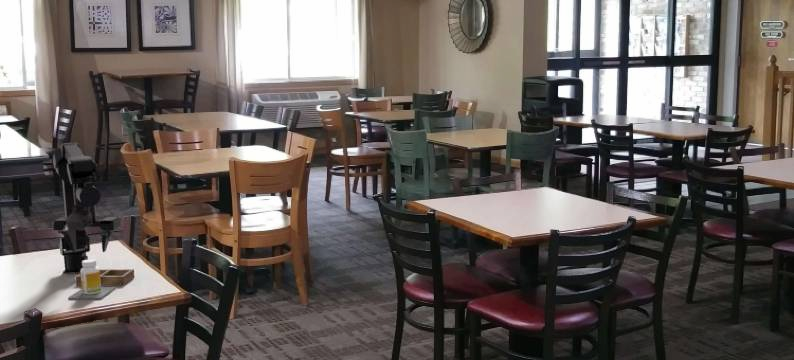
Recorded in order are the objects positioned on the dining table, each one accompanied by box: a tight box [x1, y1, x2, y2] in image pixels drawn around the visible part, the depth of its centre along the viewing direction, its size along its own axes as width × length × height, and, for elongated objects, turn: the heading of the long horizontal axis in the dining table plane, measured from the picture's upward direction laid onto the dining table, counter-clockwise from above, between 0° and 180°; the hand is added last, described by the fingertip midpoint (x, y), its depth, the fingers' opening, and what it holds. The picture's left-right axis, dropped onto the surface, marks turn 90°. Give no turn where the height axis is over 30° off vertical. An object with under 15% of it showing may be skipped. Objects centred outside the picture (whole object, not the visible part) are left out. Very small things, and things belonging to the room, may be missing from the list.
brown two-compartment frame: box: [75, 268, 135, 286], centre depth 270 cm, size 15×8×3 cm, turn 84°
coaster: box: [67, 286, 116, 301], centre depth 258 cm, size 10×10×1 cm
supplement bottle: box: [79, 258, 102, 295], centre depth 257 cm, size 5×5×10 cm
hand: (89, 251), depth 257 cm, fingers open, 9 cm apart
